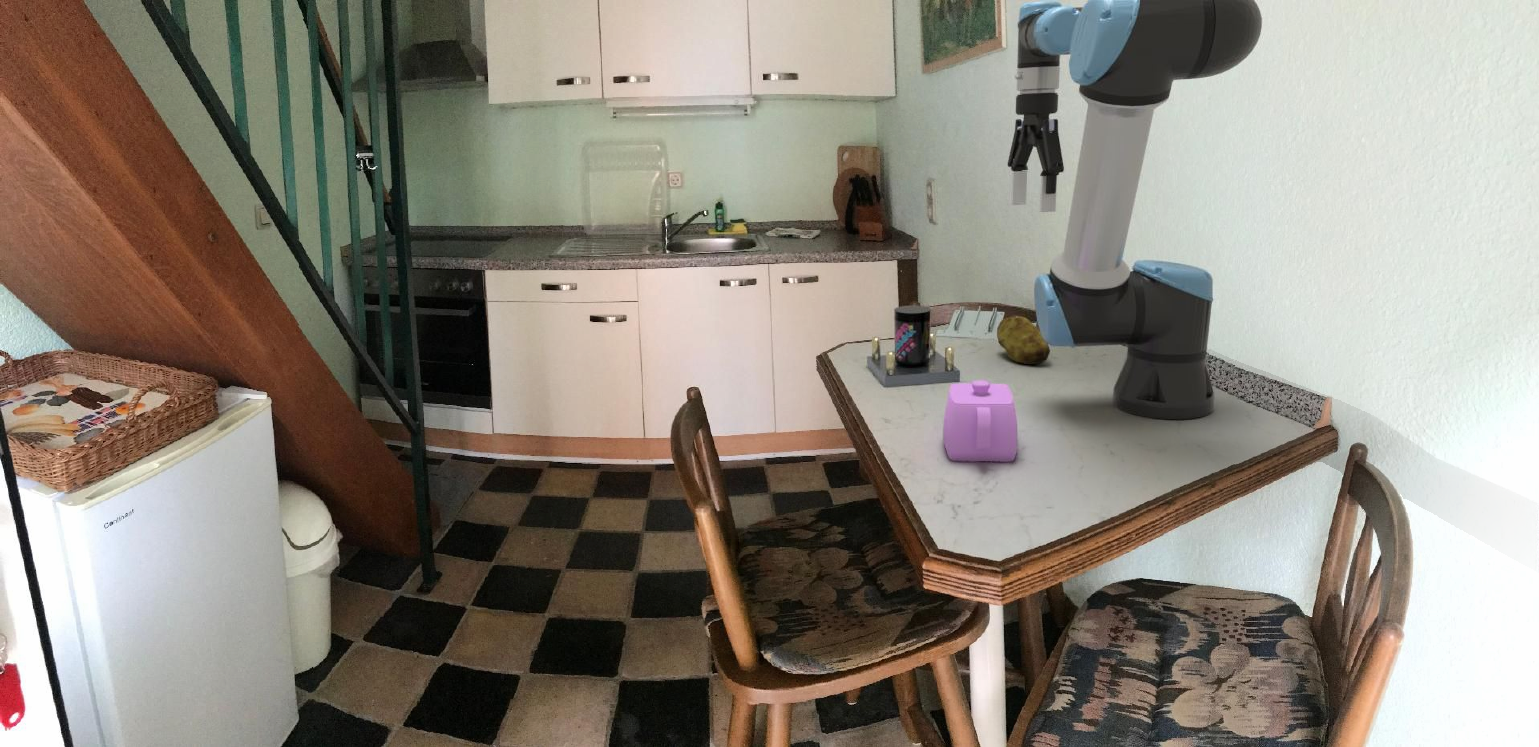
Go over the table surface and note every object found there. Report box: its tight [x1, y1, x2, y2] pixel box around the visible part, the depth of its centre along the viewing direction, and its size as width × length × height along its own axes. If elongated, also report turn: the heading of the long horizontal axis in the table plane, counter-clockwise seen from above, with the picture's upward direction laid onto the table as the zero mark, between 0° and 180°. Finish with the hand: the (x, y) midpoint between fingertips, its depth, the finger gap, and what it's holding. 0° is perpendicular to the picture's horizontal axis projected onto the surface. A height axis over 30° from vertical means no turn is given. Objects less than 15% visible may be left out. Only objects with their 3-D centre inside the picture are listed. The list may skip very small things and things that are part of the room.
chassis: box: [866, 332, 961, 388], centre depth 168 cm, size 14×14×6 cm
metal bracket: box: [936, 305, 1005, 339], centre depth 197 cm, size 14×6×15 cm
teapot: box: [942, 380, 1019, 463], centre depth 131 cm, size 18×10×10 cm, turn 171°
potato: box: [997, 315, 1051, 365], centre depth 174 cm, size 8×13×8 cm, turn 179°
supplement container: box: [893, 305, 932, 368], centre depth 167 cm, size 7×7×10 cm
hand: (1032, 208), depth 172 cm, fingers open, 13 cm apart
